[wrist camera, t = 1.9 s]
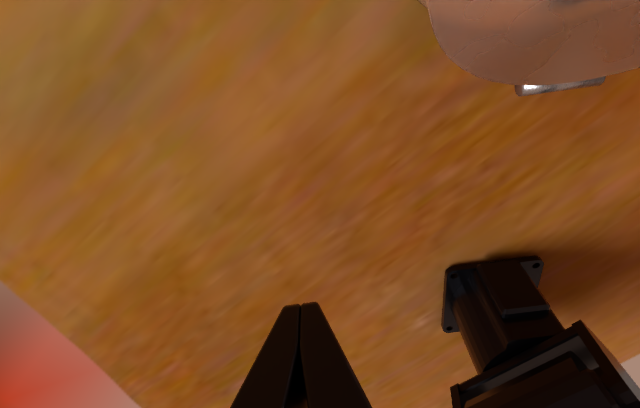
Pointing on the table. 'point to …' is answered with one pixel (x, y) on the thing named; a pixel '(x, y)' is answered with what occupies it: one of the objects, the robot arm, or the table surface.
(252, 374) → the robot arm
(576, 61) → the cooker lid
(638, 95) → the table surface
